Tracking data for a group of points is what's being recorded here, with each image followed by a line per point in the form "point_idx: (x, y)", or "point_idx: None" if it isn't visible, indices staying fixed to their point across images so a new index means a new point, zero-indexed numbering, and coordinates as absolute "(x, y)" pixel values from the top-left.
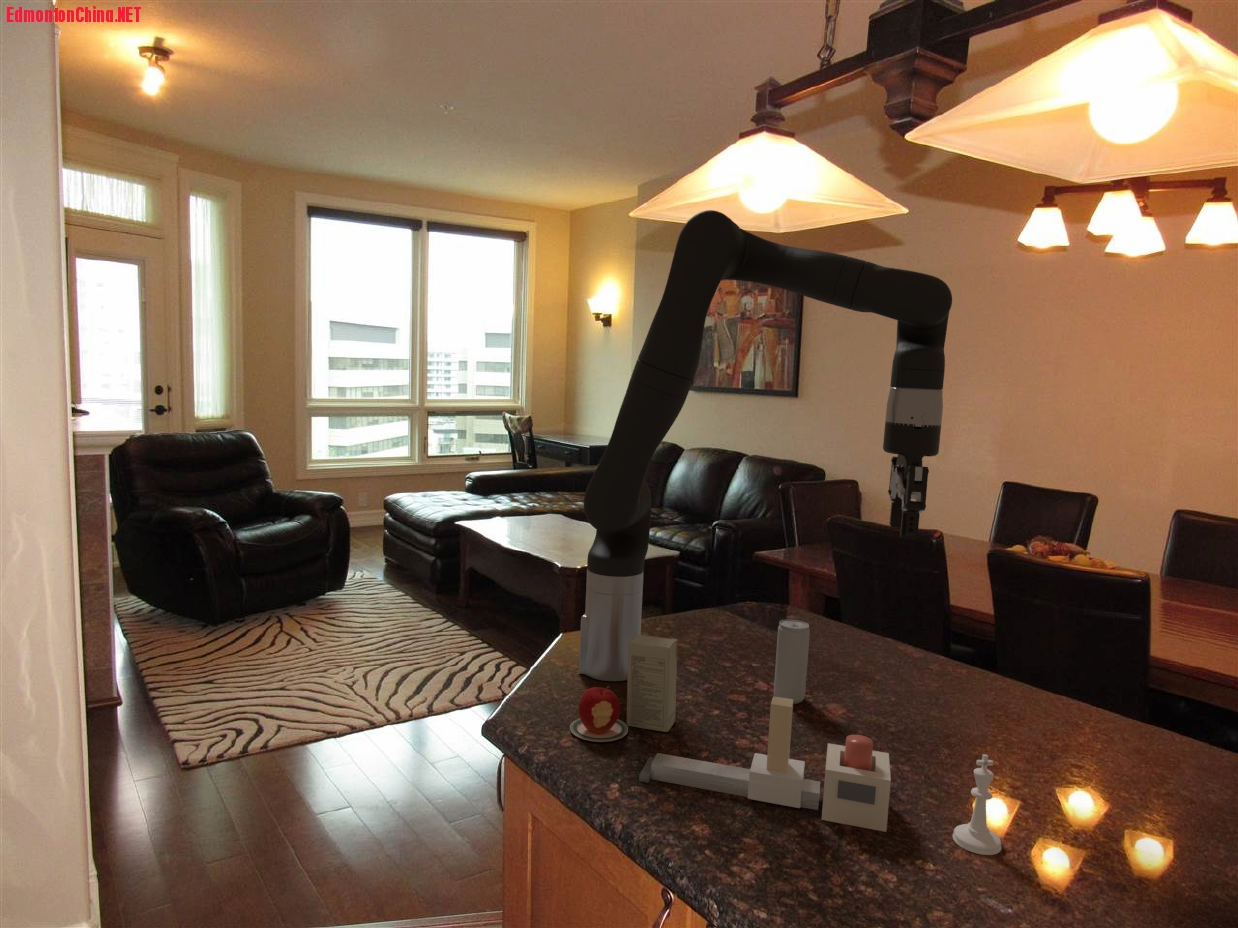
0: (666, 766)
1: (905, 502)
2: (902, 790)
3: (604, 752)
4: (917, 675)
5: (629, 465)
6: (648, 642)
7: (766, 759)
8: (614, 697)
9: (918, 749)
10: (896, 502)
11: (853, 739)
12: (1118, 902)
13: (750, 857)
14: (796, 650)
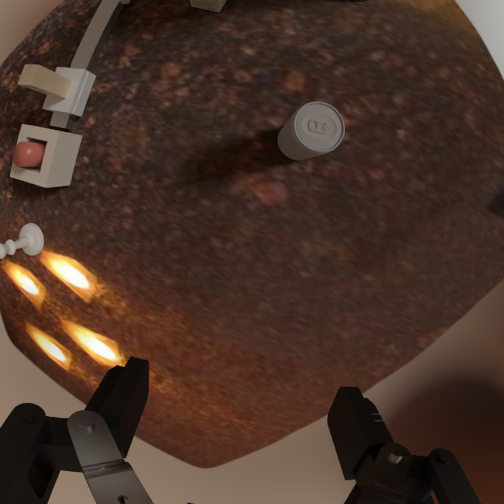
0: (97, 10)
1: (37, 428)
2: (87, 207)
3: None
4: (370, 325)
5: None
6: None
7: (73, 79)
8: None
9: (167, 253)
10: (365, 456)
11: (21, 148)
12: (2, 294)
13: (17, 81)
14: (286, 130)
